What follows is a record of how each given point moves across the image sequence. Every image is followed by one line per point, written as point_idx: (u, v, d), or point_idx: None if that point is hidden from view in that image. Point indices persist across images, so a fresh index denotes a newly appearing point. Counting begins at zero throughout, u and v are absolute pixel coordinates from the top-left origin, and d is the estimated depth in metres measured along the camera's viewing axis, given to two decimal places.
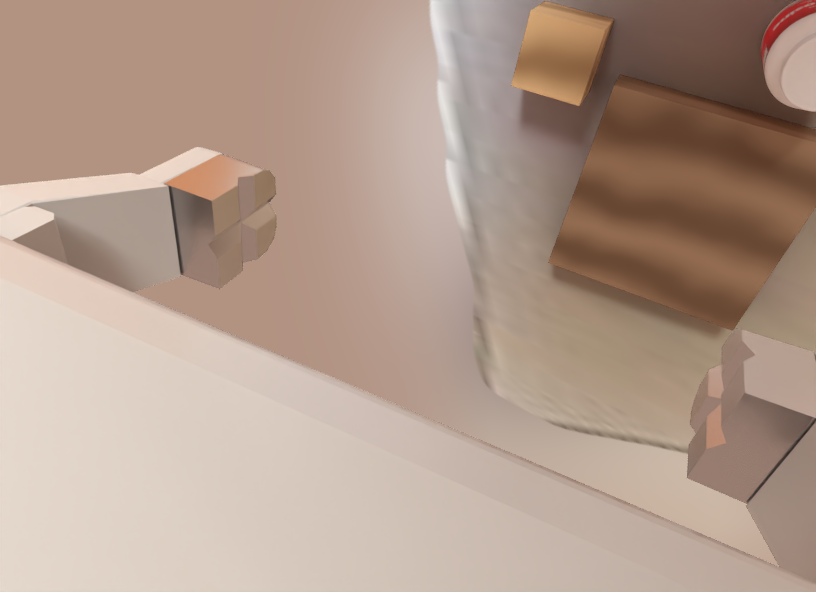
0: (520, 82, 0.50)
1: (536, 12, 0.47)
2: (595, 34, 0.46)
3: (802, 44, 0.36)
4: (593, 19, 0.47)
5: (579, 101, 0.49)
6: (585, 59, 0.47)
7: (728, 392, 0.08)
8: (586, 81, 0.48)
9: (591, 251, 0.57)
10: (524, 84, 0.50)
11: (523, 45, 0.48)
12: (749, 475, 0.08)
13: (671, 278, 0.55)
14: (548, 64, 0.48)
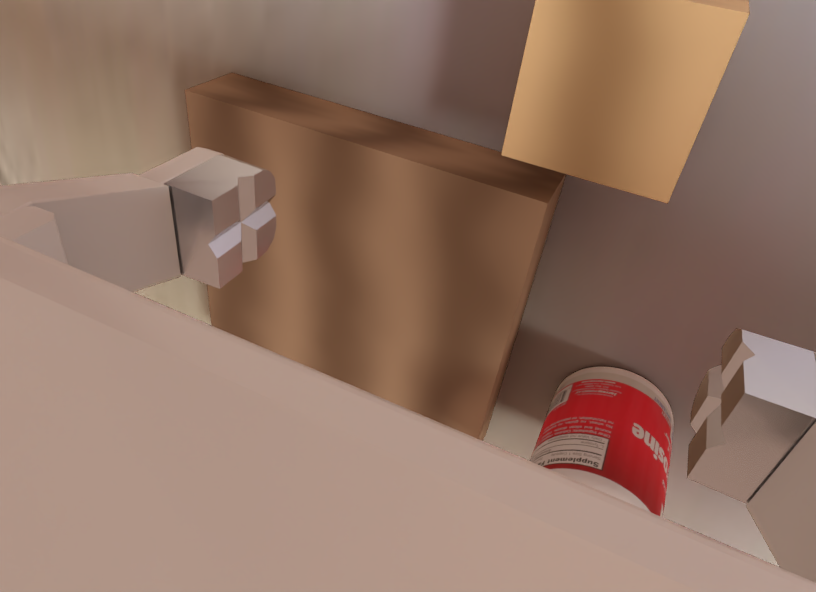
0: (551, 1, 0.18)
1: (739, 30, 0.17)
2: (660, 183, 0.20)
3: None
4: None
5: (511, 155, 0.22)
6: (603, 163, 0.20)
7: (727, 391, 0.08)
8: (555, 168, 0.21)
9: None
10: (546, 13, 0.19)
11: (651, 0, 0.17)
12: (749, 475, 0.08)
13: (248, 293, 0.34)
14: (595, 77, 0.19)
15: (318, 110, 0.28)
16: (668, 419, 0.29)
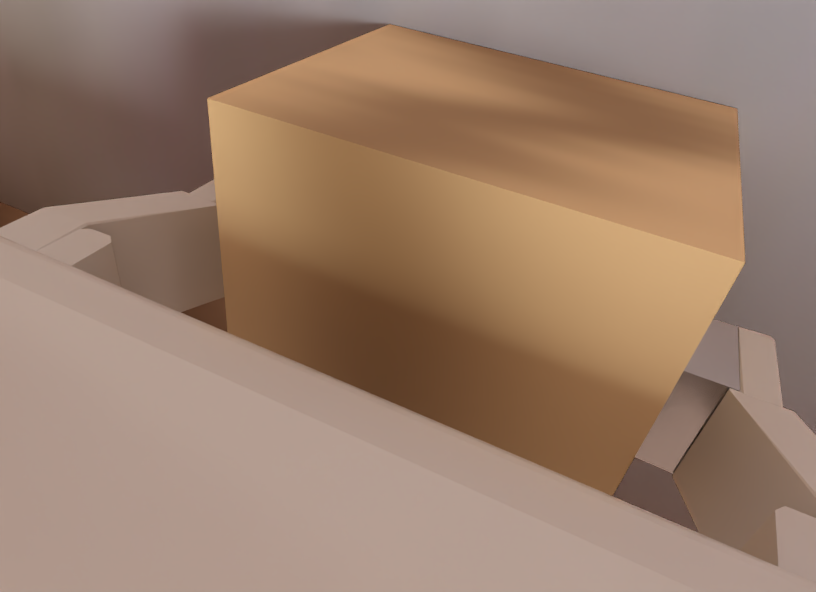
0: (244, 166, 0.07)
1: (716, 298, 0.06)
2: None
3: None
4: None
5: None
6: None
7: None
8: None
9: None
10: (242, 191, 0.07)
11: (472, 194, 0.06)
12: (673, 445, 0.08)
13: None
14: (376, 337, 0.08)
15: None
16: None
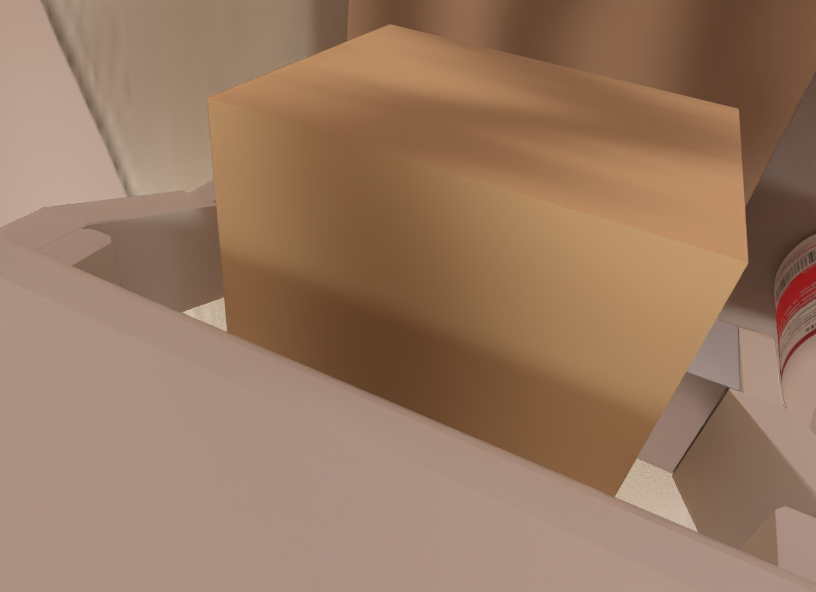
0: (244, 166, 0.07)
1: (719, 298, 0.06)
2: None
3: None
4: None
5: None
6: None
7: None
8: None
9: None
10: (242, 191, 0.07)
11: (473, 194, 0.06)
12: (672, 445, 0.08)
13: None
14: (377, 338, 0.08)
15: None
16: None
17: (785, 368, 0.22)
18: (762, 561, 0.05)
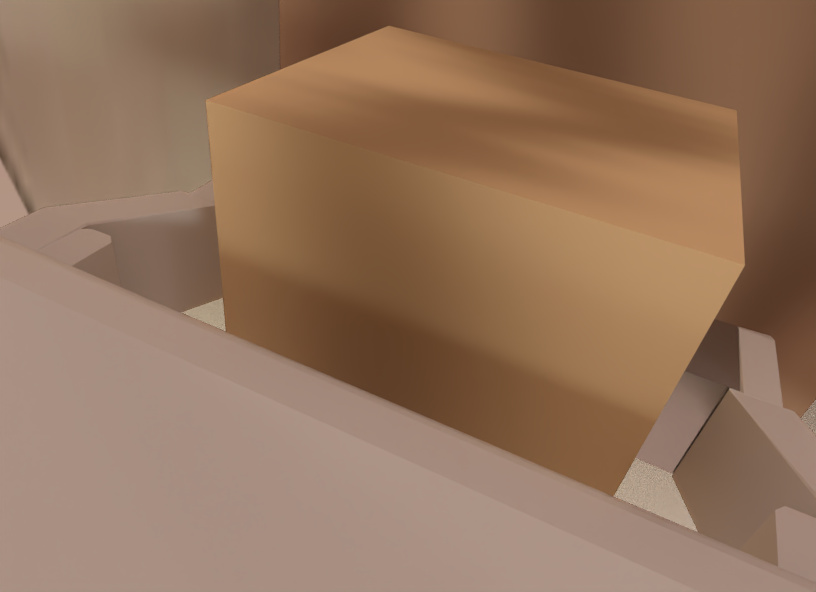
0: (243, 168, 0.07)
1: (716, 300, 0.06)
2: None
3: None
4: None
5: None
6: None
7: None
8: None
9: None
10: (240, 193, 0.07)
11: (471, 196, 0.06)
12: (673, 445, 0.08)
13: None
14: (375, 339, 0.08)
15: None
16: None
17: None
18: (762, 561, 0.05)
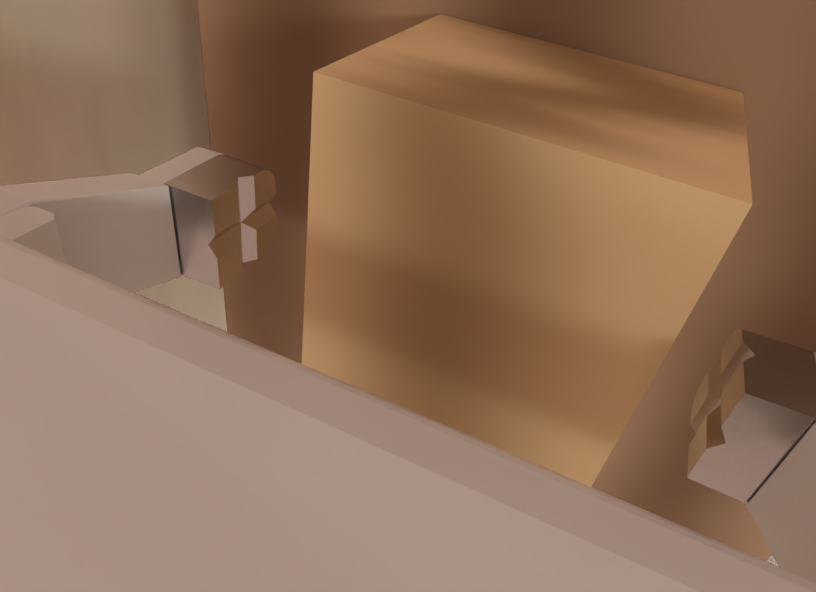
0: (340, 129, 0.09)
1: (729, 234, 0.07)
2: (572, 462, 0.10)
3: None
4: None
5: (317, 370, 0.12)
6: (471, 412, 0.11)
7: (728, 392, 0.08)
8: None
9: None
10: (334, 151, 0.09)
11: (535, 151, 0.08)
12: (749, 475, 0.08)
13: (303, 187, 0.16)
14: (441, 276, 0.09)
15: None
16: None
17: None
18: (762, 561, 0.05)
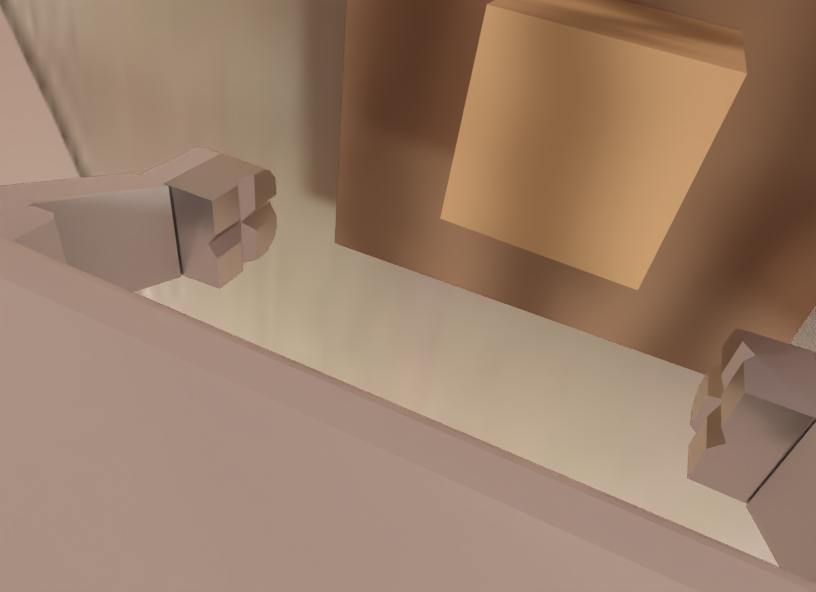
0: (498, 40, 0.14)
1: (733, 94, 0.13)
2: (629, 267, 0.16)
3: None
4: None
5: (452, 219, 0.18)
6: (562, 238, 0.17)
7: (728, 392, 0.08)
8: (504, 238, 0.17)
9: None
10: (492, 55, 0.15)
11: (623, 48, 0.13)
12: (749, 475, 0.08)
13: (415, 110, 0.22)
14: (554, 137, 0.15)
15: None
16: None
17: None
18: (762, 561, 0.05)
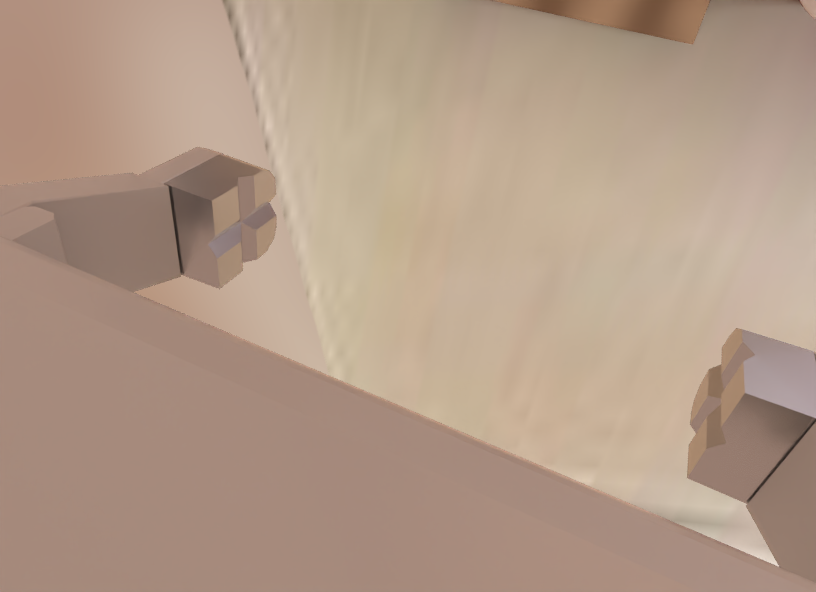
0: None
1: None
2: None
3: None
4: None
5: None
6: None
7: (727, 392, 0.08)
8: None
9: None
10: None
11: None
12: (749, 475, 0.08)
13: None
14: None
15: None
16: None
17: None
18: (762, 561, 0.05)
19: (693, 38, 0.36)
